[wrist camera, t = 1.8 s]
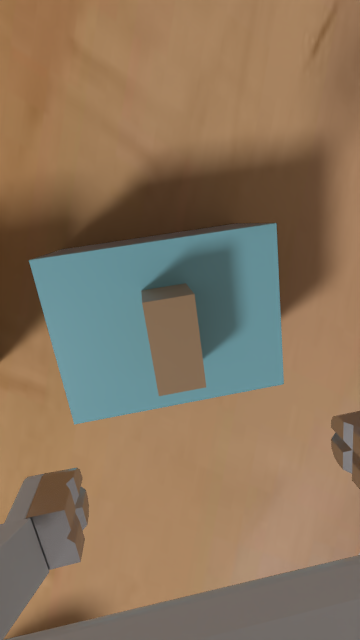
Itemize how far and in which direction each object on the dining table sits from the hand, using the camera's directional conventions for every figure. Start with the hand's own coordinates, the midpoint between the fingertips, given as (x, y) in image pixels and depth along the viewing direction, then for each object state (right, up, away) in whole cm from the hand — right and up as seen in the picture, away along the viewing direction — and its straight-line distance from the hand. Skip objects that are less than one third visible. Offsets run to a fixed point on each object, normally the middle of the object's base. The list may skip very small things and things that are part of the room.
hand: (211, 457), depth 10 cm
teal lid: (-2, +4, +14) cm, 15 cm away
